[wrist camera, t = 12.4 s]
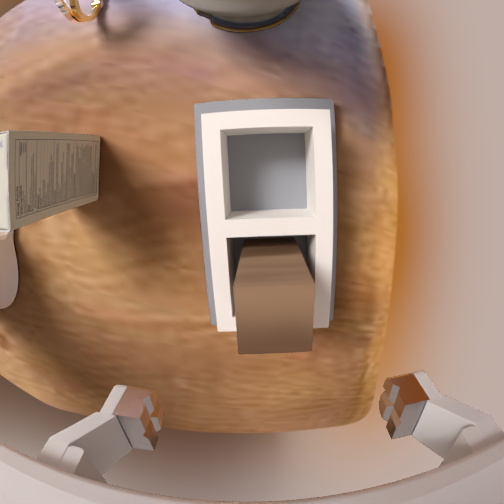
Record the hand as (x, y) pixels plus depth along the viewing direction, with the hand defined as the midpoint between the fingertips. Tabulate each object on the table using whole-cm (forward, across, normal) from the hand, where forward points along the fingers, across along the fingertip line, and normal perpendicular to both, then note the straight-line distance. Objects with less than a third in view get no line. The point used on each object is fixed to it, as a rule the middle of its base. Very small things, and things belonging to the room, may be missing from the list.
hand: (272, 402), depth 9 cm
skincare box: (+18, +16, -9) cm, 26 cm away
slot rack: (+17, -1, -4) cm, 17 cm away
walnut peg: (+16, -1, 0) cm, 16 cm away
